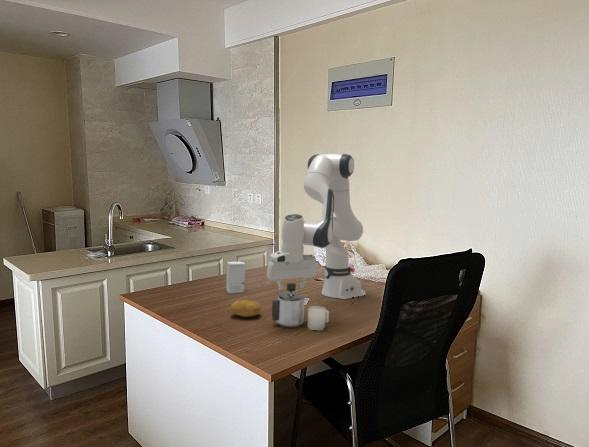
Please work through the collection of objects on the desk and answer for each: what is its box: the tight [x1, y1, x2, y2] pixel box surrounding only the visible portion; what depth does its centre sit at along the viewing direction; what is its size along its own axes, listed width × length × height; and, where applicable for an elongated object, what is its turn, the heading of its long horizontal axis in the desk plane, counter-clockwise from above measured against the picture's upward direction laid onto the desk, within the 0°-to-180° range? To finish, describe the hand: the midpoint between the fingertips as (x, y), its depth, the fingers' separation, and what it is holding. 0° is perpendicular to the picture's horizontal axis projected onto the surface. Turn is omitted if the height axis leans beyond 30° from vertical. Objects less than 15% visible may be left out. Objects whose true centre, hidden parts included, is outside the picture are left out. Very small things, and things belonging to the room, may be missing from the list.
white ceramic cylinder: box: [306, 305, 330, 331], centre depth 174 cm, size 8×7×8 cm
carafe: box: [271, 290, 305, 328], centre depth 178 cm, size 13×11×12 cm
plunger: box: [286, 282, 297, 301], centre depth 178 cm, size 8×8×15 cm
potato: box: [230, 299, 262, 318], centre depth 185 cm, size 9×13×7 cm
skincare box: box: [225, 261, 246, 294], centre depth 219 cm, size 8×6×15 cm
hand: (291, 289), depth 177 cm, fingers open, 7 cm apart
